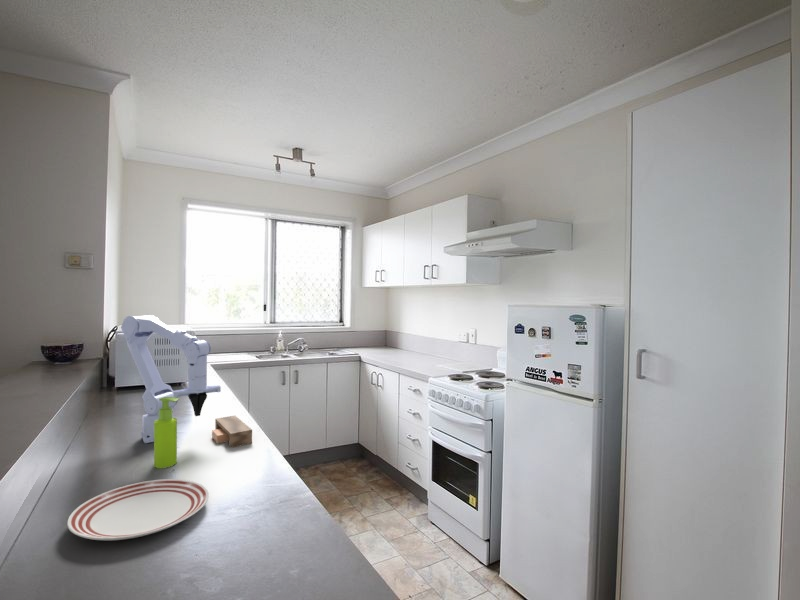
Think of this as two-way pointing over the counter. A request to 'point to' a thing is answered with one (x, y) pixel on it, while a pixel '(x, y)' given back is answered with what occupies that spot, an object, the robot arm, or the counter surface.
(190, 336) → the robot arm
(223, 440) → the peach rectangular block
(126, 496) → the dinner plate
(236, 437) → the wooden bridge block
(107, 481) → the counter surface
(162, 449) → the soap dispenser
